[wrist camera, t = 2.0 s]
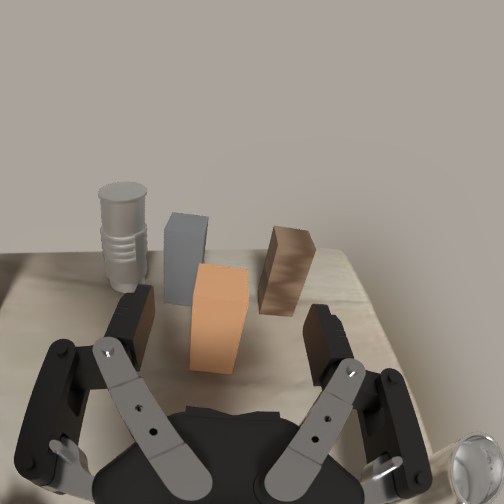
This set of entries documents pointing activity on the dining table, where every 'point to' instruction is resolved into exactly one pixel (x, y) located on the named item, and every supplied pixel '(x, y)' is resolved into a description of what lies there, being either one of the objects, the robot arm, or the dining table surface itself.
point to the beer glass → (465, 472)
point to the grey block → (183, 256)
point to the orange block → (218, 317)
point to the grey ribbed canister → (124, 234)
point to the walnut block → (285, 271)
